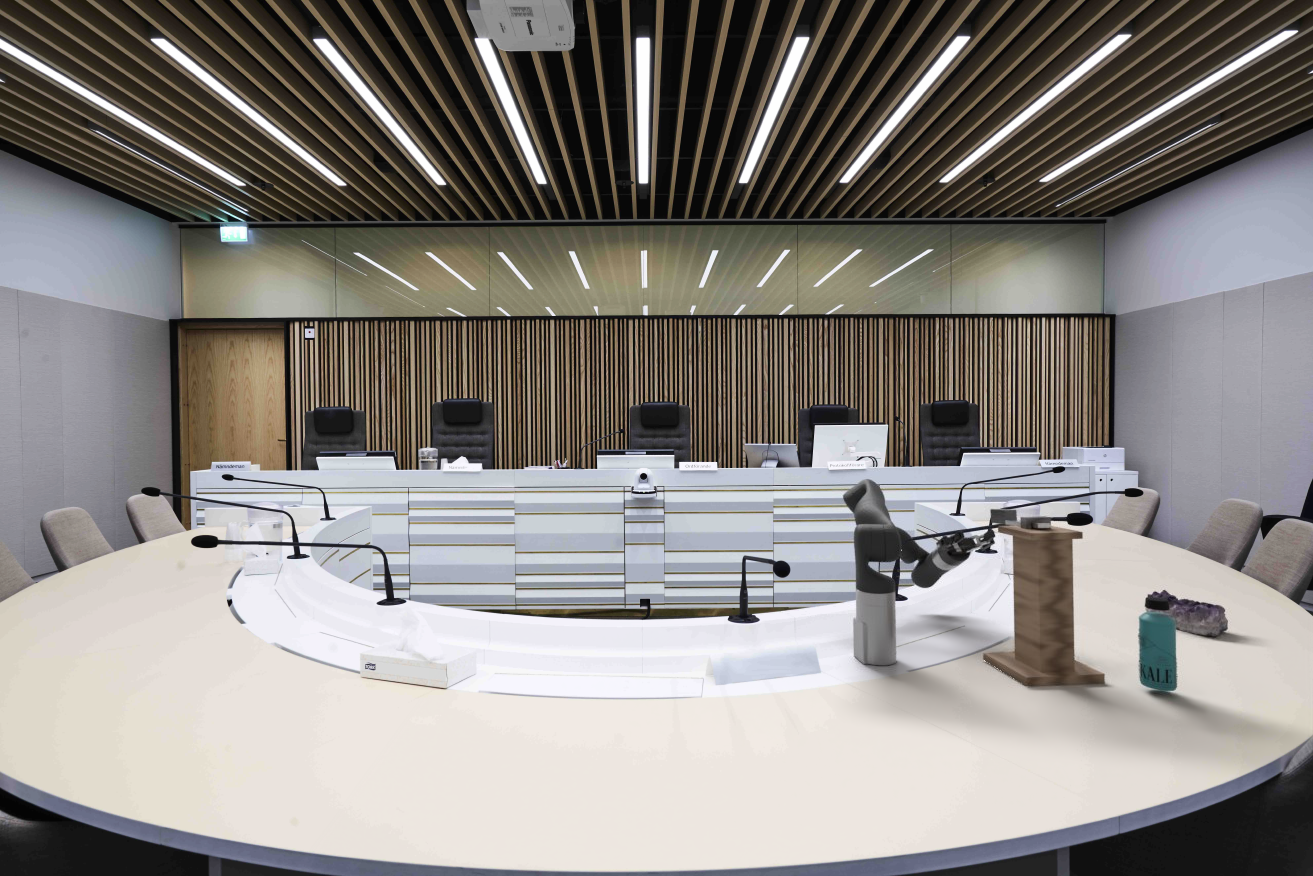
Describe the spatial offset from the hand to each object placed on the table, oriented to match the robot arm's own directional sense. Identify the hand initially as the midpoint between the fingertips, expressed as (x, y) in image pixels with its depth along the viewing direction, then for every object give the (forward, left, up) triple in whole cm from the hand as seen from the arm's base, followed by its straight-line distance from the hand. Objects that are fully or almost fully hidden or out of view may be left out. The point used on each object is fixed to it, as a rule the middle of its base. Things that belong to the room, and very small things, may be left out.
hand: (977, 533), depth 171 cm
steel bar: (0, -18, +5) cm, 19 cm away
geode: (+61, +3, -29) cm, 68 cm away
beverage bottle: (+16, -38, -29) cm, 50 cm away
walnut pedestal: (0, -24, -28) cm, 37 cm away
